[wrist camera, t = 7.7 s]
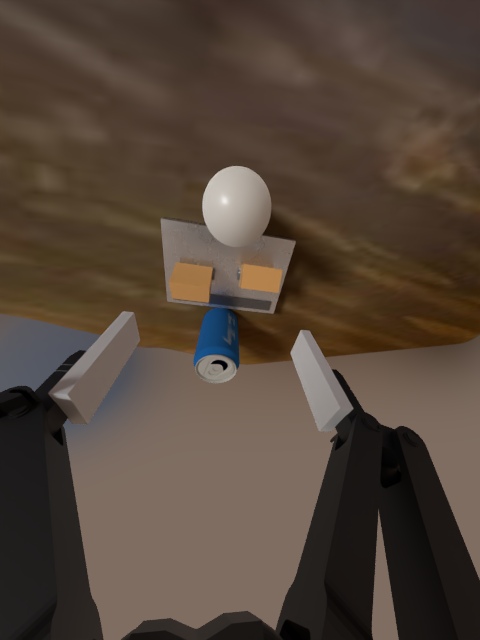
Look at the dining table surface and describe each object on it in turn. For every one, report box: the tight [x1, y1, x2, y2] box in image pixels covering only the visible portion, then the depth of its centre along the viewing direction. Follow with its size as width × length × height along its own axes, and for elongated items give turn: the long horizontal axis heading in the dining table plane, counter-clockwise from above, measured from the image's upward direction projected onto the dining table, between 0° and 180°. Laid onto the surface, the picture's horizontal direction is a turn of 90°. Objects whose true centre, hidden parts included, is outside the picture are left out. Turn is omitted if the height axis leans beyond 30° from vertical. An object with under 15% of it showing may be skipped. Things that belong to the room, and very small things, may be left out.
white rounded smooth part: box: [203, 166, 271, 247], centre depth 17 cm, size 5×5×16 cm
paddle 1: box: [169, 262, 215, 303], centre depth 25 cm, size 3×6×5 cm, turn 81°
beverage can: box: [194, 308, 239, 383], centre depth 29 cm, size 6×6×12 cm
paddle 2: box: [237, 264, 283, 293], centre depth 25 cm, size 3×6×5 cm, turn 81°
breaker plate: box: [161, 217, 296, 314], centre depth 28 cm, size 12×18×2 cm, turn 81°
